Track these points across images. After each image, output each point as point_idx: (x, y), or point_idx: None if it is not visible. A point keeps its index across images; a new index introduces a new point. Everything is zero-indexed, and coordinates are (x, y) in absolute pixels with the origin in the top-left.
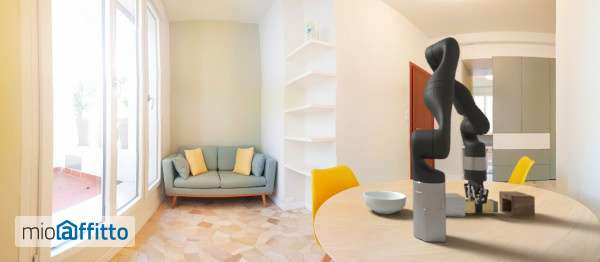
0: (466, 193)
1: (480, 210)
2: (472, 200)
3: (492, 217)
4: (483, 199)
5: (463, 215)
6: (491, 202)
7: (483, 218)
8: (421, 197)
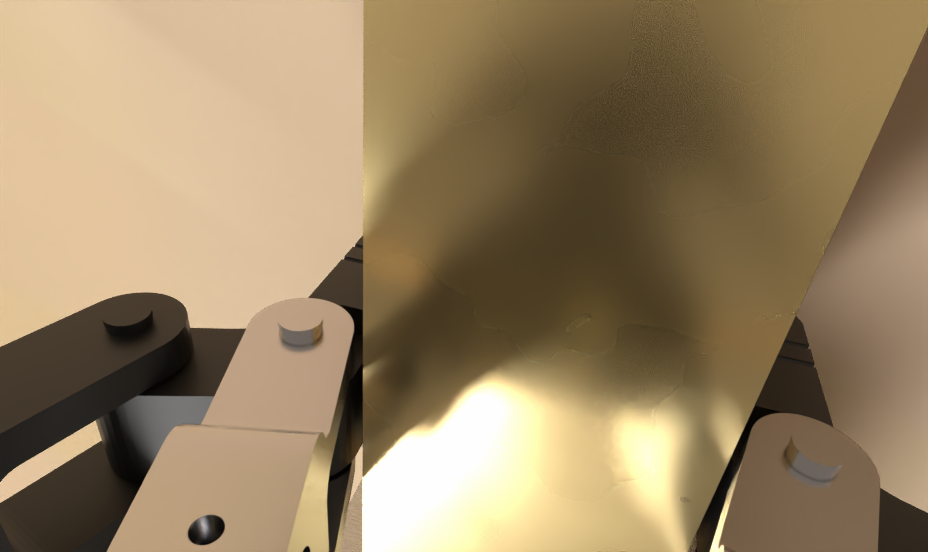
0: (96, 547)
1: None
2: (511, 537)
3: (914, 79)
4: (380, 120)
5: None
6: (885, 91)
7: (895, 327)
8: None
